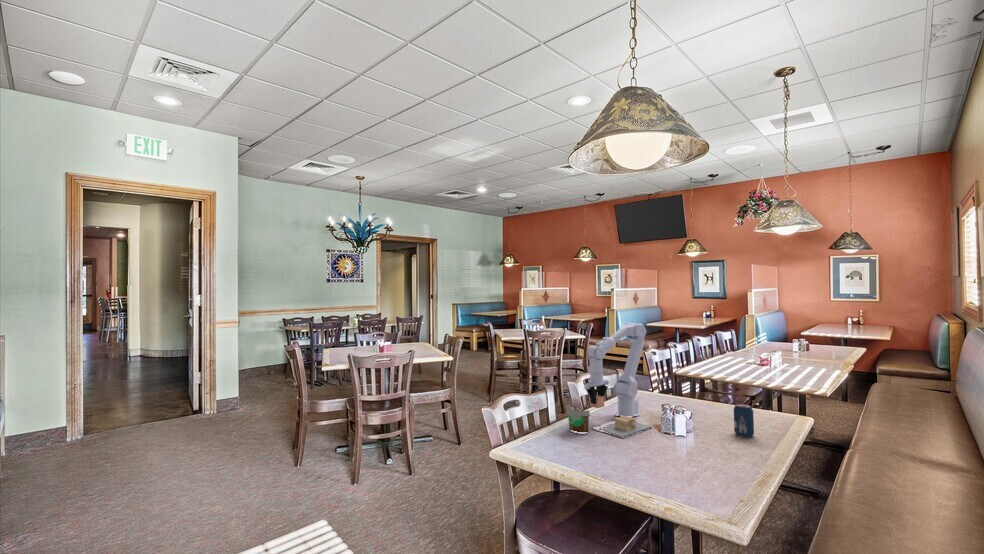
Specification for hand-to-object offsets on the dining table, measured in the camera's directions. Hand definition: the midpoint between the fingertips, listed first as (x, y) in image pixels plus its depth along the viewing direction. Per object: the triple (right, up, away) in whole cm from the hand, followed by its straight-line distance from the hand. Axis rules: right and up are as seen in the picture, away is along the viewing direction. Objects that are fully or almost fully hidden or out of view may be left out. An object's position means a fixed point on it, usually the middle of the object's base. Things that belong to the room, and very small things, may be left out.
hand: (597, 402), depth 200 cm
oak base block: (+9, -8, -12) cm, 17 cm away
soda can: (+54, -7, -22) cm, 59 cm away
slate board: (+8, -8, -11) cm, 16 cm away
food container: (-12, -9, -13) cm, 20 cm away
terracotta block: (0, -2, 0) cm, 2 cm away
